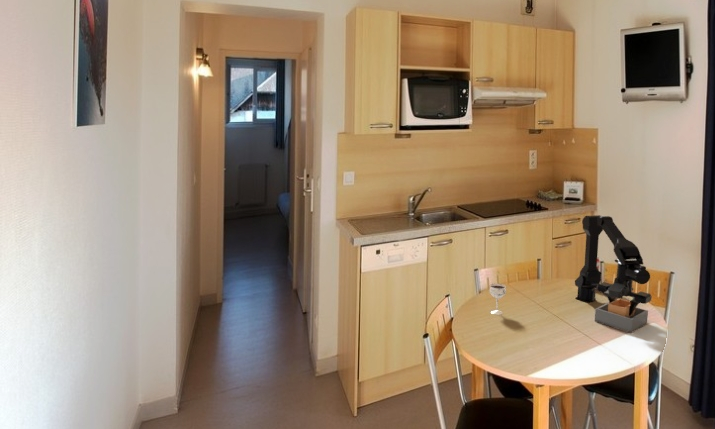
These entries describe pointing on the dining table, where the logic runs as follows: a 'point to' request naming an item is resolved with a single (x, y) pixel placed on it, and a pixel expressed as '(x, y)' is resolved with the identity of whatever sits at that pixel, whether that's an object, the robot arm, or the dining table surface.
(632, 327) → the grey open box
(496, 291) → the wineglass
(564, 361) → the dining table surface
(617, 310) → the orange crate
